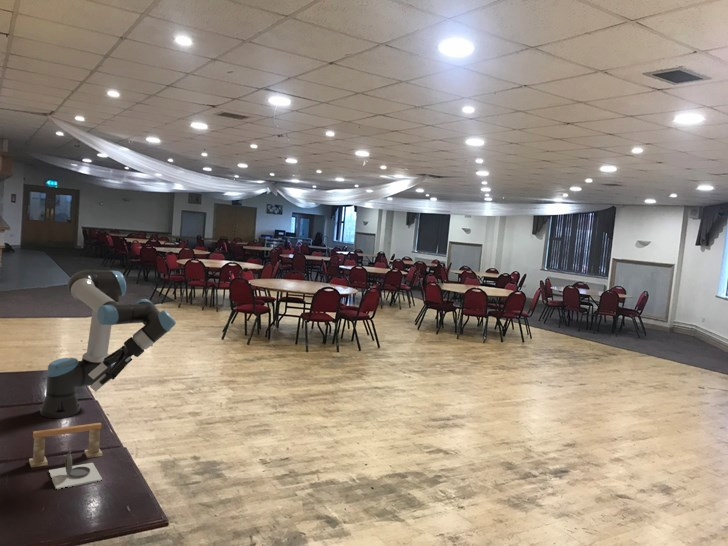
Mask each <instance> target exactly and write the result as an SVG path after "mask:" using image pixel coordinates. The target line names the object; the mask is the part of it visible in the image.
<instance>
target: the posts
mask: <svg viewBox="0 0 728 546" xmlns="http://www.w3.org/2000/svg"><path fill="white" fill-rule="evenodd" d="M88 432H89V434H88V449H84V455H85V457H86V458H87V459H92V458H98V457H103V452H102V450H101V449H100V441H101V440H100V439H101V429H97V430H90V431H88ZM45 450H46V437H40V438H33V453H32V458H29V459H28V460H29V461H28V463H29V465H30V468H32V469H33V468H39V467H43V466H48V465H49V464H48V460H47V457H46V456H45Z"/></svg>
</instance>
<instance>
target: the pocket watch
mask: <svg viewBox="0 0 728 546" xmlns="http://www.w3.org/2000/svg"><path fill="white" fill-rule="evenodd" d="M67 449H68V453H67V454H65V464H64V465H65V467H66V472H67V474H69V475H70V476H72V477H82V476H85V475H87V474H89V473H90V468H88V467H76V468H73V469H72V466H73V457H72V454H71V453H72V450H71V449H70V447H68V448H67Z"/></svg>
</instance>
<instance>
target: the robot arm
mask: <svg viewBox="0 0 728 546" xmlns="http://www.w3.org/2000/svg"><path fill="white" fill-rule="evenodd" d="M67 291H68V294H69V295H70V296H71V297H72V298H73V299H75V300H77V301H81V302H83V303H84V304H85V305H87V306H88V307H89V308H90V309H91V310H92V311H91V312H92V313H91V318H90V319H91V320H90V327H89V332H88V340H87V341H88V342H87V348H86V352H84V353H83V354H82V356H81V357H82V358H81V360H78V358H74V357H64V358H58V359H56V360H53V361H51V362H50V363H48V365H47V372H46V388H45V397H44V400H43V402H42V406H41V407H40V409H39V410H40V411H39V412H40V415H41V416H42V417H44V418H48V419H65V418H69V417H73V416H75V414H76V415H77V414H79V413H80V406H81V405H80V404H79V400H78V397H77V388H83V387H90V388H91V389H92V390H93V391H94V392H95V393H96V392H97V391H98V390H100V389H101V388H102V387H103V386H104V385H106V384H107V383H109V382H110V381H111V380H115V379H116V377H118V375H120V373H121V372H123V370H124V369H125V368H126V367H127V366H128V364H130V362H132V361H133V358H132V356H134V357H135V358H139V357H140V356H141V355H142V354H143V353H145V350H148V349H149V348H150V347H153V345H154V344H155V343H156V342H157V341H159V340H160V339H161V338H163V336H164V335H166V334H167V333H168V332H170V330H171V329H172V328H173V327H175V326H176V320H175V319H174V318H173V317H172V316H171V315H170V314H169V313H168V311H166V310H165V309H163V310H161V311H160V310H159V309H158V308H157V306H156V305H155V304H154V303H153V302H152V301H151V300H149V299H146V298H142V299H140V300H137V301H136V302H134V303H127V304H120V303H119V302H120V298H121V297H122V298H123V296H125V294H126V292H127V282H126V279H125V276H124V275H123V273H122V272H121V271H118V270H111V269H109V270H104V269H103V270H90V269H89V270H88V269H87V270H86V269H85V270H81V271H78V272H76V273H74V274H73V275H72V276H71V277H70V278H69V279H68V282H67ZM127 324H143V326H142V327H141V328H140V329H138V330H137V331H136V332H134V334H132V336H131V337H129V338H127V340H125V341H124V342H123V345H122V346H121V347H120V348H117V350H115V351H114V352H111V353H110V354H109V353H108V352H109V346H110V339H111V331H112V326H115V325H116V326H117V325H127ZM78 412H79V413H78Z"/></svg>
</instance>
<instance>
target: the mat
mask: <svg viewBox="0 0 728 546" xmlns="http://www.w3.org/2000/svg"><path fill="white" fill-rule="evenodd" d="M76 467H88V468H90V473H89V474H87V475H85V476H82V477H72V476H70V475H69V474H67V472H66V466H65V467H59V468H53V469H49V470H48V474H49V473H50V474H49V475H50V478H52V479H51V481H52V483H53V486H54V488H55V490H56V489H57V490H62V489H61V488H63V489H66V488H65V487H68V488H71V487H72V486H73V487H78V486H82V485H88V484H93V483H98V482H102V481H103V477H102V476H101V474H100V473H99V471H98V469H97V467H96V466H95V463H94V462H89V463H88V462H87V463H82V464H78V465H77V464H76V465H72V469H73V468H76ZM101 480H102V481H101ZM97 481H98V482H97ZM73 487H72V488H73Z"/></svg>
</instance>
